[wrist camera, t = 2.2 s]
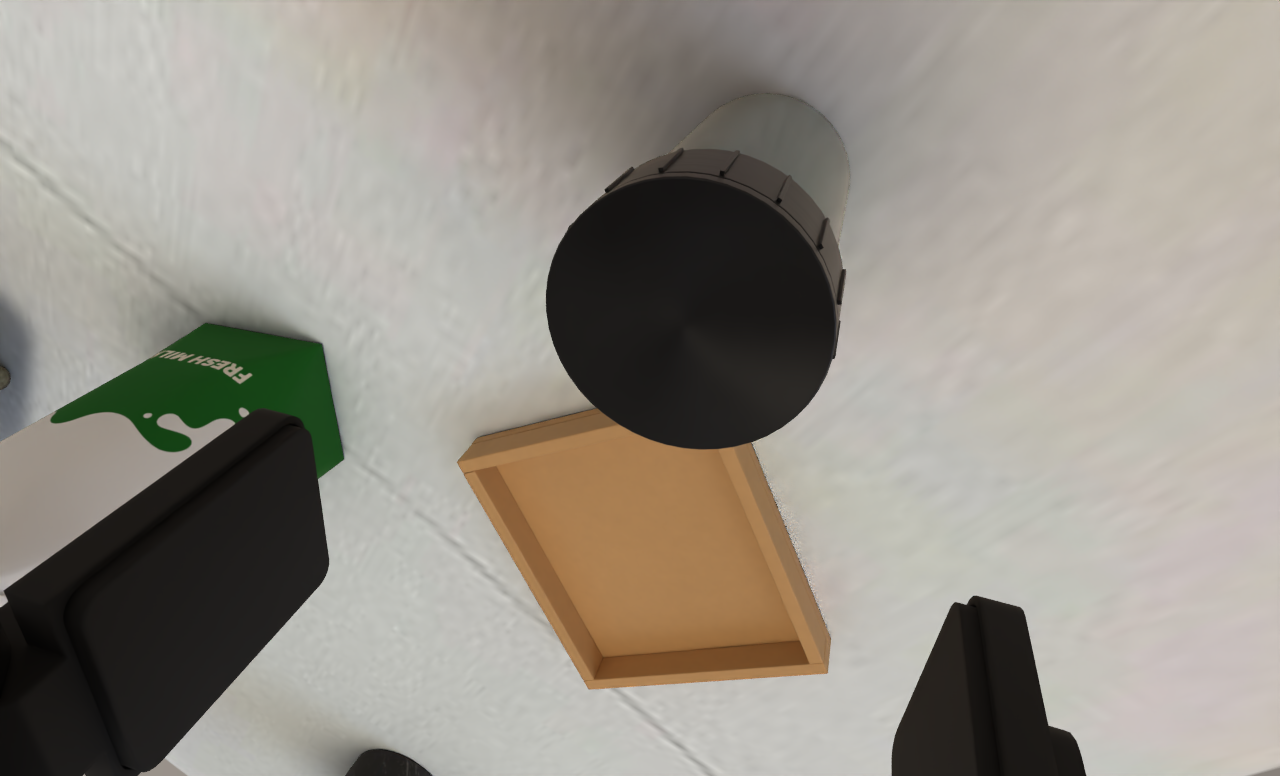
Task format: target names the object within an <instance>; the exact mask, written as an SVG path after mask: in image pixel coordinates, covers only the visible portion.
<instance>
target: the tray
mask: <svg viewBox="0 0 1280 776" xmlns="http://www.w3.org/2000/svg"><path fill="white" fill-rule="evenodd" d="M457 463H458V465H459V467H460V469H461V470H462V472H463V473H464V476H465V478H466V479H467V481H468V483H469V485H470V486H471V488H472V490H473V491H474V493H475V495H476V497H477V498H478V500H479V502H480V503H481V505H482V507H483V509H484V510H485V512H486V514H487V515H488V517H489V519H490V521H491V522H492V524H493V526H494V528H495V529H496V531H497V533H498V534H499V536H500V538H501V540H502V541H503V543H504V545H505V546H506V548H507V550H508V552H509V553H510V555H511V557H512V558H513V560H514V562H515V564H516V565H517V567H518V569H519V570H520V572H521V574H522V576H523V577H524V579H525V581H526V582H527V584H528V586H529V588H530V589H531V591H532V593H533V595H534V596H535V598H536V600H537V601H538V603H539V605H540V607H541V608H542V610H543V612H544V613H545V615H546V617H547V619H548V620H549V622H550V624H551V625H552V627H553V629H554V631H555V632H556V634H557V636H558V637H559V639H560V641H561V643H562V644H563V646H564V648H565V649H566V651H567V653H568V655H569V656H570V658H571V660H572V662H573V663H574V665H575V667H576V668H577V670H578V672H579V674H580V675H581V677H582V679H583V680H584V682H585V684H586V685H587V687H588V689H604V688H619V687H633V686H648V685H663V684H678V683H693V682H708V681H723V680H737V679H752V678H767V677H782V676H797V675H812V674H827V673H828V665H829V654H830V644H831V638H830V636H829V633H828V631H827V628H826V626H825V623H824V621H823V619H822V616H821V614H820V611H819V609H818V606H817V604H816V601H815V599H814V596H813V594H812V592H811V589H810V587H809V584H808V582H807V579H806V577H805V574H804V572H803V569H802V567H801V565H800V562H799V560H798V557H797V555H796V552H795V550H794V547H793V545H792V542H791V540H790V538H789V535H788V533H787V530H786V528H785V525H784V523H783V520H782V518H781V515H780V513H779V511H778V508H777V506H776V503H775V501H774V498H773V496H772V493H771V491H770V488H769V486H768V483H767V481H766V479H765V476H764V474H763V471H762V469H761V466H760V464H759V461H758V459H757V456H756V454H755V452H754V449H753V447H752V444H751V443H747V444H743V445H739V446H736V447H730V448H723V449H708V450H698V449H686V448H679V447H674V446H669V445H665V444H662V443H658V442H655V441H652V440H649V439H647V438H644V437H642V436H640V435H637V434H635V433H633V432H631V431H629V430H628V429H626V428H624V427H622V426H620V425H619V424H617V423H616V422H614V421H613V420H612V419H610V418H609V417H607V416H606V415H604V414H603V413H602V412H601V411H600V410H599V409H598V408H596V409H592V410H588V411H584V412H580V413H576V414H572V415H568V416H564V417H560V418H556V419H552V420H548V421H544V422H540V423H535V424H531V425H527V426H523V427H519V428H515V429H511V430H507V431H503V432H499V433H495V434H491V435H487V436H483V437H479V438H476V440H475V441H474V442H473V443H472V445H471V446H470V447H469V448H468V450H467V451H466V452H465V453H464V454H463V455H462V457H461V458H460V459H459V460H458V461H457Z"/></svg>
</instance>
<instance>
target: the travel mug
mask: <svg viewBox="0 0 1280 776" xmlns="http://www.w3.org/2000/svg"><path fill="white" fill-rule="evenodd" d="M345 776H431V775H430V774H429V773H428V772H427V771H426V770H425V769H423V768H422V767H421V766H419V765H418V764H417V763H415V762H413V761H412V760H410V759H408V758H406V757H404V756H402V755H399V754H397V753H394V752H390V751H385V750H370V751H367V752H364V753H363V754H362V755H361V756H360V757H359V758H358V759H357V760H356V761H355V763H354V764H353V766H352V767H351V768H350V770H349V771H348V773H347V774H346V775H345Z"/></svg>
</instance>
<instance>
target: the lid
mask: <svg viewBox="0 0 1280 776" xmlns="http://www.w3.org/2000/svg"><path fill="white" fill-rule="evenodd" d="M605 192H606V193H605V194H603V195H602V196H601V197H600V198H599V199H598V200H596V201H595V202H594V203H593V204H592V205H591V206H590V207H588V208H587V209H586V210H585V211H584V212H583V213H582V214H581V215H580V216H579V217H578V218H577V219H576V220H575V222H574V223H572V224H571V225H570V226H569V228H568V230H567V232H566V233H565V235H564V237H563V238H562V240H561V242H560V243H559V245H558V248H557V250H556V253H555V255H554V257H553V260H552V263H551V267H550V271H549V275H548V281H547V289H546V312H547V319H548V325H549V330H550V334H551V337H552V341H553V344H554V347H555V349H556V352H557V354H558V356H559V359H560V361H561V363H562V364H563V366H564V368H565V370H566V372H567V373H568V375H569V377H570V378H571V379H572V381H573V382H574V383H575V385H576V386H577V388H578V389H579V390H580V391H581V392H582V393H583V395H584V396H585V397H586V398H587V399H588V400H589V401H590V402H591V403H592V404H593V405H594V406H595V407H596V408H598V409H599V410H600V411H601V412H602V413H603V414H604V415H606V416H607V417H609V418H610V419H612V420H613V421H614V422H616V423H617V424H619V425H620V426H622V427H624V428H626V429H628V430H629V431H631V432H633V433H635V434H637V435H640V436H642V437H644V438H647V439H649V440H652V441H655V442H658V443H662V444H665V445H669V446H674V447H679V448H686V449H698V450H708V449H723V448H730V447H736V446H739V445H743V444H747V443H751V442H753V441H756V440H758V439H761V438H763V437H766V436H768V435H769V434H771V433H773V432H775V431H776V430H778V429H780V428H782V427H783V426H785V425H786V424H787V423H788V422H790V421H791V420H792V419H794V418H795V417H796V416H797V415H798V414H799V413H800V412H801V411H802V410H803V409H804V408H805V407H806V406H807V405H808V404H809V403H810V401H811V400H812V399H813V397H814V396H815V395H816V393H817V392H818V390H819V389H820V387H821V385H822V383H823V381H824V379H825V377H826V375H827V373H828V370H829V367H830V364H831V361H832V359H834V358H835V356H836V349H837V342H838V335H839V328H840V320H839V317H840V311H841V304H842V298H843V291H844V285H845V278H846V269H843V268H842V260H841V256H840V252H839V248H838V244H837V241H836V239H835V236H834V234H833V231H832V229H831V227H830V225H829V224H830V219H829V218H828V217H827V218H825V216H824V214H823V213H822V211H821V210H820V208H819V207H818V206H817V204H816V203H815V202H814V201H813V199H812V198H811V197H810V196H809V195H808V194H807V193H806V192H805V191H804V190H803V189H802V188H801V187H800V186H799V185H798V184H797V183H796V182H795V181H793V180H792V176H791V175H788V176H787V175H785V174H784V173H783V172H781V171H780V170H778V169H776V168H774V167H772V166H771V165H769V164H767V163H765V162H763V161H761V160H758V159H755V158H753V157H750V156H748V155H744V154H740V151H739V150H736V151H735V152H732V151H728V150H719V149H689V150H684V149H683V148H679V149H678V150H677V151H676V152H672V153H669V154H666V155H663V156H659V157H656V158H654V159H652V160H650V161H648V162H646V163H644V164H642V165H640V166H639V167H637V168H636V169H634V168H633V167H631V168H629V169H628V170H627V171H626V172H625V173H623V174H622V175H621V176H620V177H619V178H618V179H616V180H615V181H614V182H613V183H612V184H611V185H609V186H608V187H607V188H606V189H605Z"/></svg>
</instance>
